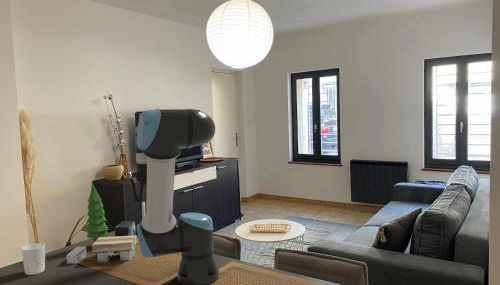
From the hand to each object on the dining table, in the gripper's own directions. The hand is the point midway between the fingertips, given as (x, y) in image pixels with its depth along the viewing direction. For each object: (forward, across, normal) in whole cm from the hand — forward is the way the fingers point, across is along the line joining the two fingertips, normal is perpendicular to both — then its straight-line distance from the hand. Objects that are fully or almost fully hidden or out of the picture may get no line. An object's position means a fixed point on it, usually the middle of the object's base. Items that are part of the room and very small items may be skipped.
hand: (147, 217), depth 161 cm
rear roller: (+17, -9, 0) cm, 19 cm away
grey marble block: (+17, -30, 0) cm, 34 cm away
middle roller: (+17, -18, 0) cm, 24 cm away
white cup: (+17, -42, -11) cm, 47 cm away
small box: (+17, -13, +14) cm, 25 cm away
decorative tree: (+17, -26, +16) cm, 35 cm away
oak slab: (+12, -14, 0) cm, 19 cm away
